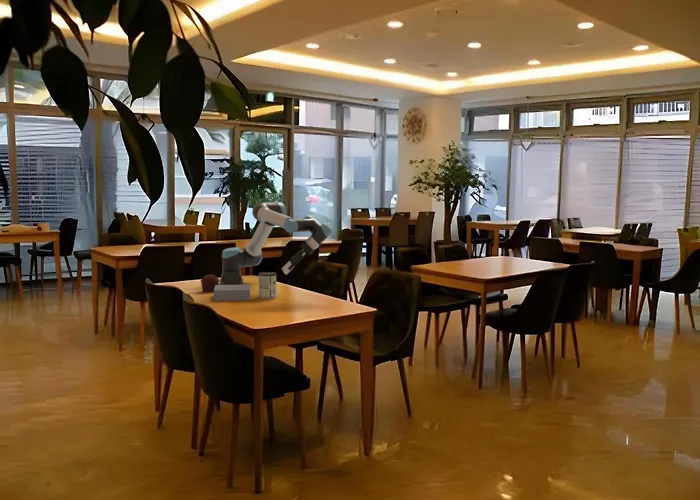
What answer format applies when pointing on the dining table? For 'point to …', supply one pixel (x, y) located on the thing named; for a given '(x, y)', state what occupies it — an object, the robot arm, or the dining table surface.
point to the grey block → (231, 292)
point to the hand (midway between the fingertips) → (283, 271)
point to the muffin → (209, 283)
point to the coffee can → (267, 285)
